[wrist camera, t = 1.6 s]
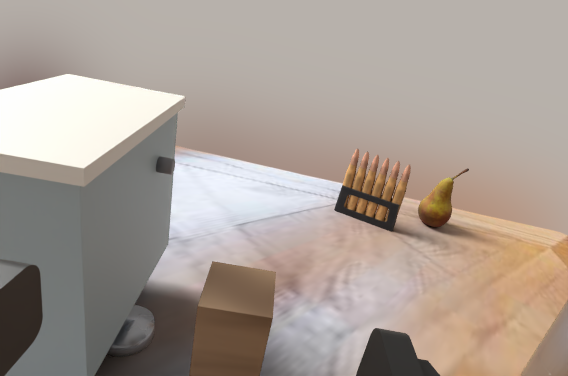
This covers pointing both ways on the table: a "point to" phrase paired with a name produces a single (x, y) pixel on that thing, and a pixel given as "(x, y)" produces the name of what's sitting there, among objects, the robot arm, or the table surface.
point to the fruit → (438, 204)
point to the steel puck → (134, 333)
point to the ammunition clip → (372, 192)
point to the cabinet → (84, 207)
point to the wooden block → (233, 321)
